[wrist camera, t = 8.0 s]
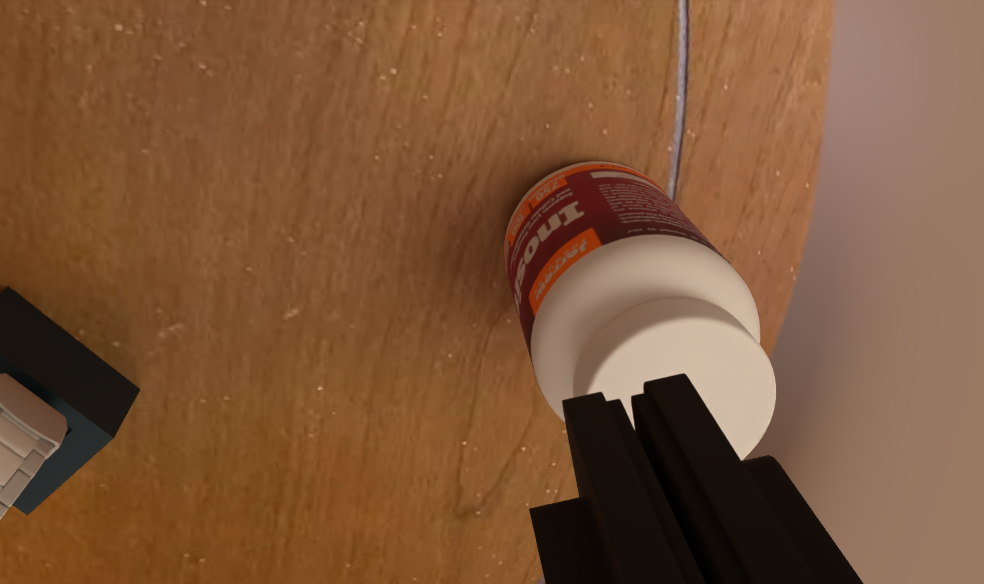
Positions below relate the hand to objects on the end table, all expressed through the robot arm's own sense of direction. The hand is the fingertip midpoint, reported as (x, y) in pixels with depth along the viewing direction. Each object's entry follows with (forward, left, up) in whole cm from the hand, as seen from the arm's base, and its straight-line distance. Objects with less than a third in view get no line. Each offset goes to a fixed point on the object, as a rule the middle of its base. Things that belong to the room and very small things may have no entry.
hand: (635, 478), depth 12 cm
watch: (+18, +4, -19) cm, 26 cm away
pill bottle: (-2, +4, -19) cm, 19 cm away
